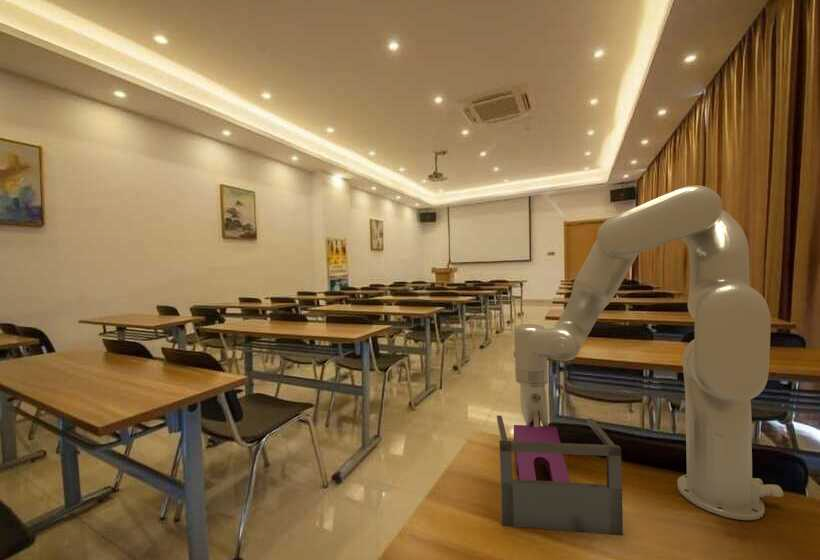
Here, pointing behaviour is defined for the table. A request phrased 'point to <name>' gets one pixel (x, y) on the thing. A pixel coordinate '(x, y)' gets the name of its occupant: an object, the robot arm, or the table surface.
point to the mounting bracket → (529, 459)
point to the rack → (562, 490)
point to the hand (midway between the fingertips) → (533, 449)
